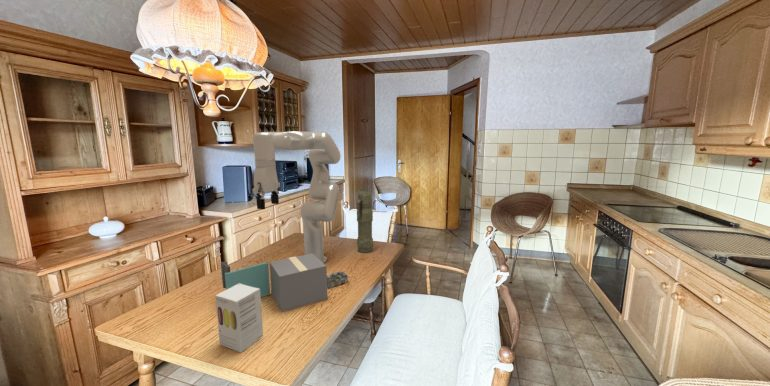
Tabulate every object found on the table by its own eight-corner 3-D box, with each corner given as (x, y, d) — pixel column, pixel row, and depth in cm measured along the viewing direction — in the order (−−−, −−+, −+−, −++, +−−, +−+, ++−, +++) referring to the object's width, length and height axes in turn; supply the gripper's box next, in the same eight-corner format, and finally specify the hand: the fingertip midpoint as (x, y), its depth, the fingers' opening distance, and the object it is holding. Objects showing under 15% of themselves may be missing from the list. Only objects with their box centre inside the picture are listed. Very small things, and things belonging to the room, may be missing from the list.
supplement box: (218, 345, 98) (213, 295, 95) (242, 328, 107) (238, 282, 104) (241, 353, 95) (236, 301, 92) (264, 336, 103) (260, 287, 100)
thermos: (353, 252, 177) (351, 191, 171) (363, 246, 187) (362, 187, 181) (366, 255, 173) (366, 192, 167) (376, 248, 183) (376, 188, 177)
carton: (271, 294, 130) (269, 261, 128) (313, 283, 140) (312, 252, 137) (281, 312, 117) (279, 276, 114) (327, 299, 126) (326, 265, 124)
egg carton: (328, 289, 134) (328, 280, 134) (320, 283, 140) (320, 274, 140) (350, 282, 141) (350, 274, 140) (342, 277, 147) (341, 268, 146)
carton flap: (262, 287, 135) (260, 252, 132) (270, 293, 129) (267, 257, 127) (222, 300, 124) (218, 262, 122) (228, 307, 119) (224, 269, 116)
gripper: (269, 162, 134) (272, 201, 137) (242, 166, 117) (246, 210, 121) (285, 162, 132) (287, 202, 136) (260, 166, 116) (264, 211, 119)
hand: (268, 206), depth 128 cm, fingers open, 9 cm apart
